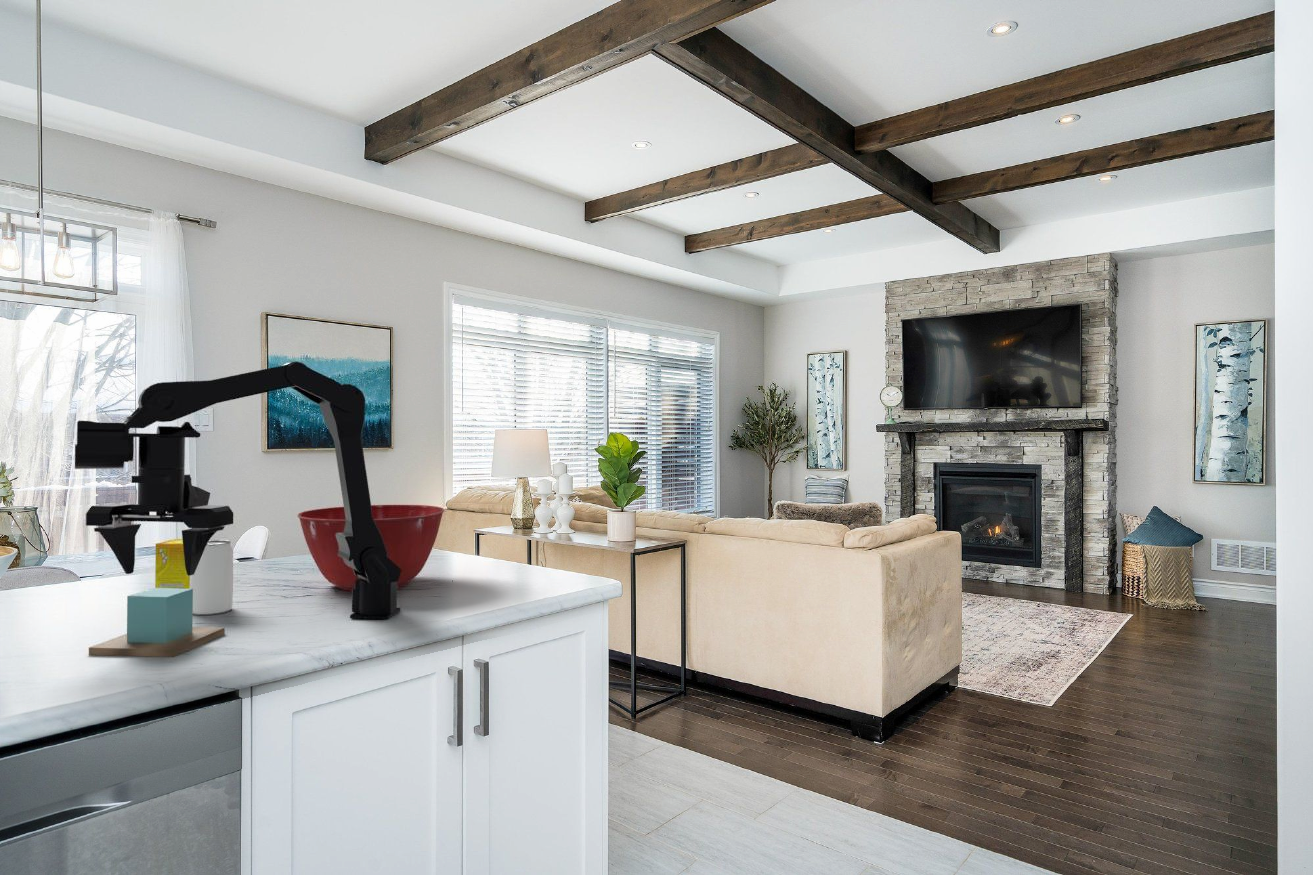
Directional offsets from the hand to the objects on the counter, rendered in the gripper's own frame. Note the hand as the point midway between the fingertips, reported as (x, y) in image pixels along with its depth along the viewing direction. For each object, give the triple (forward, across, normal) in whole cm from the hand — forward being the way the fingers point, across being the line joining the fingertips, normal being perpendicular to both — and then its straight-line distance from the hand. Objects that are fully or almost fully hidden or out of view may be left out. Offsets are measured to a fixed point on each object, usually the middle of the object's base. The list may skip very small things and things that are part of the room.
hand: (160, 574), depth 111 cm
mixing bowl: (+10, -13, -45) cm, 48 cm away
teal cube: (+9, 0, 0) cm, 9 cm away
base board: (+10, 0, 0) cm, 10 cm away
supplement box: (+10, +16, -28) cm, 34 cm away
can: (+10, +5, -20) cm, 23 cm away
